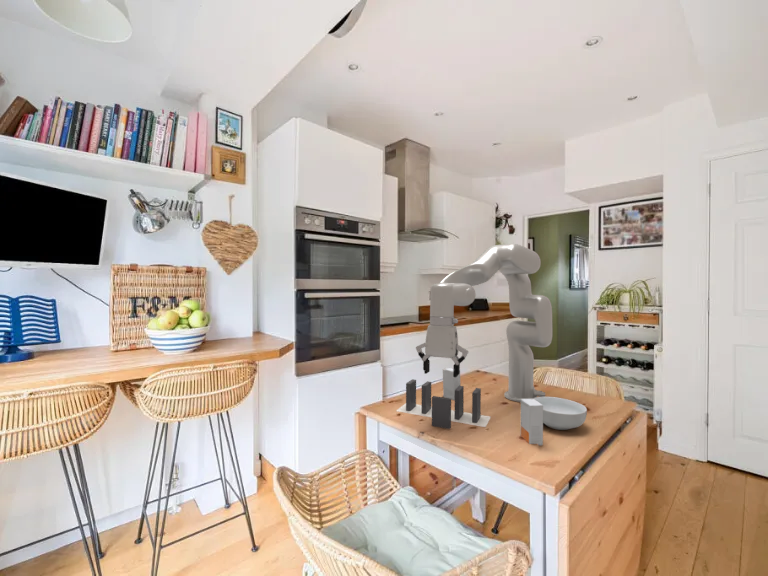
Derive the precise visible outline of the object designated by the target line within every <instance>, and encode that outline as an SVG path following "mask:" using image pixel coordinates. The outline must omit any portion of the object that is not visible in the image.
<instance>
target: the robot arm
mask: <svg viewBox="0 0 768 576" xmlns="http://www.w3.org/2000/svg"><path fill="white" fill-rule="evenodd" d="M541 263H542V262H541V258H540V255H539V254H538V253H537V252H536V251H534V250H532V249H530V248H527V247H526V246H523V245H521V244H518V243H506V244H505V243H503V244H494V245H491V246H489V247H488V248H486V250H484V251H483V252H482V253H481V254H480V255H479V256H478V257H476V259H475V260H474V261H472V262H471V263H470V264H468V265H465V266H463V267H461V268H459V269H456V270H454V271H453V272H451V273H449V274H448V275H446V276H445V277H444V278H443V279H442V280H441V281H440V282H439V283H433V284H432V285H431V286H430V296H429V298H430V299H429V300H430V301H429V305H430V307H429V311H430V312H429V325H428V326H427V329H426V335H425V342H424V343H421V344H419V345H417V346H416V347H415V350H416V352H417V354H418V356H419V358H420V359H421V361H422V364H423V365H422V366H423V367H422V369H423V372H424V373H423V374H428V373H429V372H430V371H431V369H430V367H431V365H430V362H431V361H430V359H429V358H430V357H433V358H434V357H435V358H440V359H441V358H443V359H451V360H452V361H453V363H454V364H453V377H457V376H458V375H459V373H460V374H461V369H460V368H461V367H460V366H461V365H460V364H462V363H463V361H465V360H466V358H467V357H468V354H469V350H467V349H466V348H464V347H462V346H460V345H459V336H458V331H457V326H456V325H455V324H458V323H459V319H457V318H455V315H454V314H455V313H454V311H455V310H454V306H456V307H457V306H459V307H467V306H469V305H471V304H473V302H474V301H475V300H476V299H475V298H476V296H477V294H476V289H475V288H474V286H479V285H481V284H482V285H483V284H485V283H487V282H489V281H490V279H492V277H493V276H494V275H495V274H496V273H497V272H499V273H501V274H502V275H503V276H504V278H505V280H506V281H507V284H508V299H509V301H508V302H509V312H510V314H511V315H512V316H513V317H515V318H519V319H520V318H521V319H528V320H530V321H527V320H514V321H511V322H509V323H508V325H507V327H506V329H505V330H506V339H507V345H508V346H507V347H508V390H507V391H505V392H504V398H506V399H507V400H509V401H513V402H517V403H521V399H534V398H537V397H546V392H543V390H537V389H536V388H535V386H534V361H535V360H534V353H533V351H532V349H531V347H536V348H537V347H538V348H546V347H549V346H550V345H551V344H552V340H553V308H552V303H551V300H550V299H549V298H548V296H545V295H543V294H533V293H532V283H531V282H532V281H531V280H530V277H529V276H528V275H531V274H535V273H537V272H538V271H539V269H540V268H541ZM531 320H534V321H531ZM454 325H455V326H454ZM423 348H424V351H425V352H424V351H423V350H422V349H423ZM459 352H460V353H462V354H461V356H460V357H459V356H458V355H459Z"/></svg>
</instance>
